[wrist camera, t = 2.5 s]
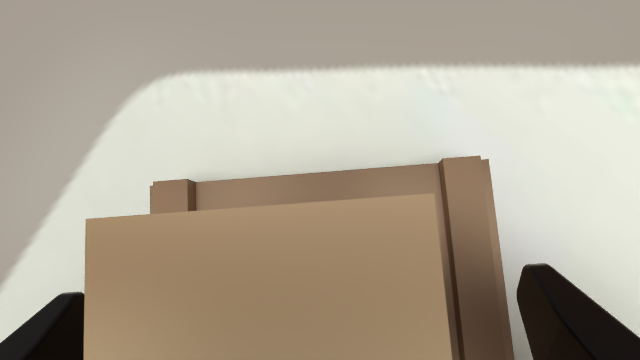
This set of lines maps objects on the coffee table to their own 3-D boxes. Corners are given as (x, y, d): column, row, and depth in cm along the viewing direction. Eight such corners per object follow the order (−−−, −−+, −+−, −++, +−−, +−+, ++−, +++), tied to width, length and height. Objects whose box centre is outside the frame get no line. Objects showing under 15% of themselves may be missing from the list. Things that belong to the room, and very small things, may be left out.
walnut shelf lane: (505, 470, 16) (545, 531, 12) (182, 480, 16) (139, 539, 13) (469, 171, 17) (496, 154, 14) (178, 194, 18) (139, 182, 15)
